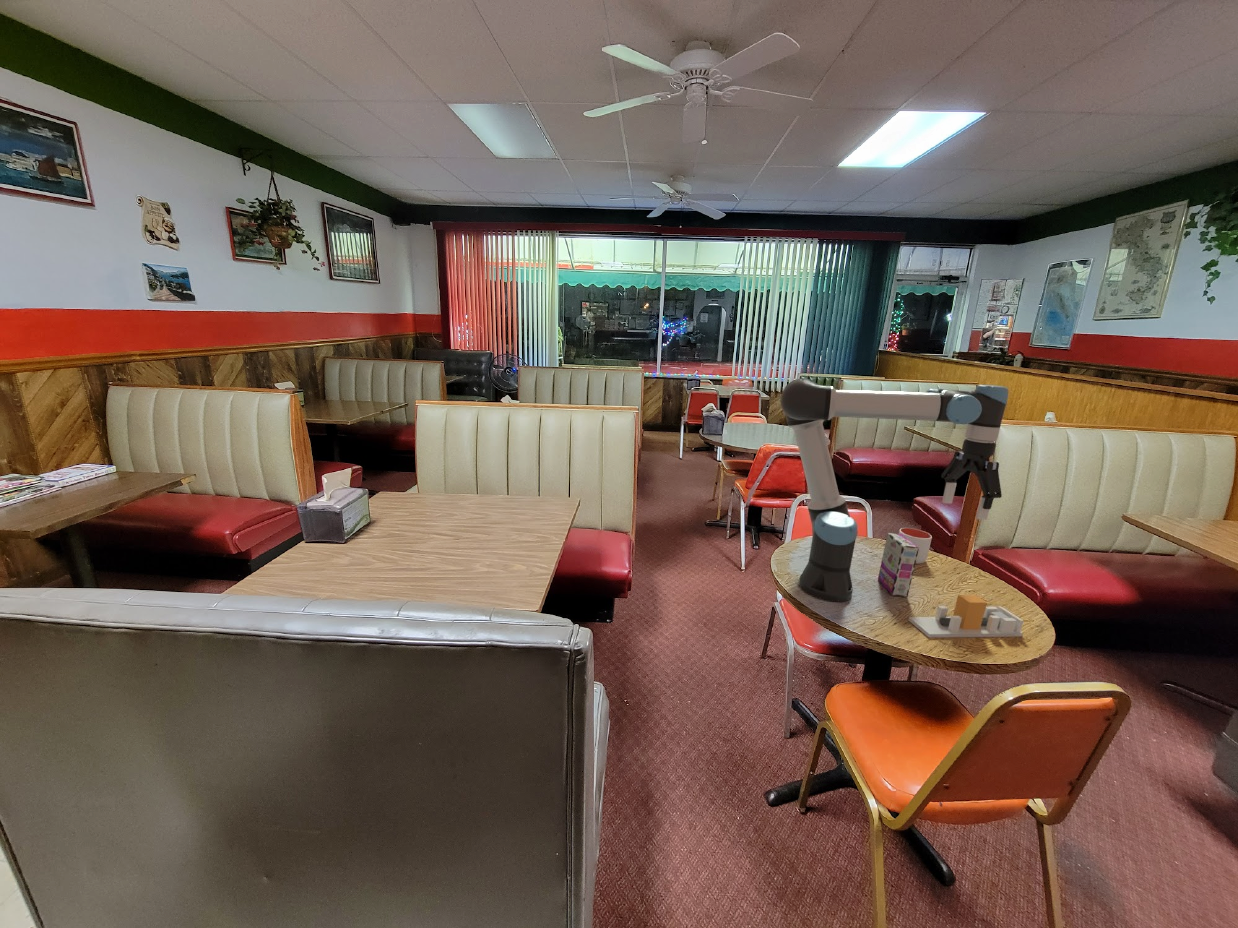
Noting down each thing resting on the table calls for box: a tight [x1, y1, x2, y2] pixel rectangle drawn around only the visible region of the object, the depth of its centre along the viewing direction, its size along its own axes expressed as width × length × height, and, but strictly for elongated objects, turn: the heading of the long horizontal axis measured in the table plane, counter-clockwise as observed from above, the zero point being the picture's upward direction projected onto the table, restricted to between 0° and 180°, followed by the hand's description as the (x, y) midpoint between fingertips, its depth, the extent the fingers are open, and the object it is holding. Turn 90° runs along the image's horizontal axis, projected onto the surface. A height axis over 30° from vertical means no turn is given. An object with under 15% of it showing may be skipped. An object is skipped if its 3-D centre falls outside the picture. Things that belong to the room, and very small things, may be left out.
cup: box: [898, 527, 933, 565], centre depth 175 cm, size 10×10×10 cm
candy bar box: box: [877, 532, 919, 598], centre depth 151 cm, size 11×5×16 cm, turn 174°
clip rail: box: [908, 605, 1024, 639], centre depth 132 cm, size 27×8×5 cm, turn 95°
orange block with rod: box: [940, 594, 1009, 629], centre depth 132 cm, size 18×4×8 cm, turn 95°
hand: (963, 510), depth 144 cm, fingers open, 13 cm apart
